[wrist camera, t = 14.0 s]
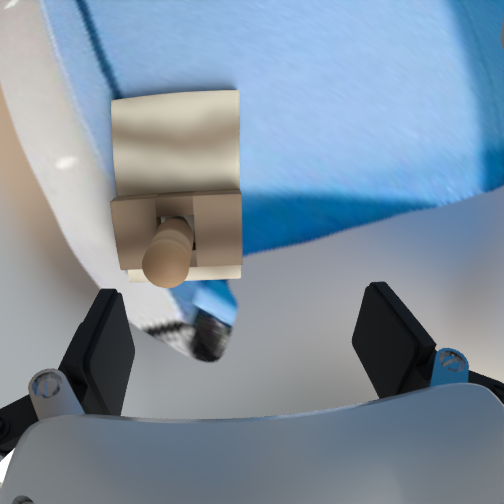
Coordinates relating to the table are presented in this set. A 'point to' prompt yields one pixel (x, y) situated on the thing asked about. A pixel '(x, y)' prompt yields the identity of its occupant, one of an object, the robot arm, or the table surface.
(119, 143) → the subfloor panel
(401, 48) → the table surface
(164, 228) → the tan rounded cylinder
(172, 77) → the table surface
